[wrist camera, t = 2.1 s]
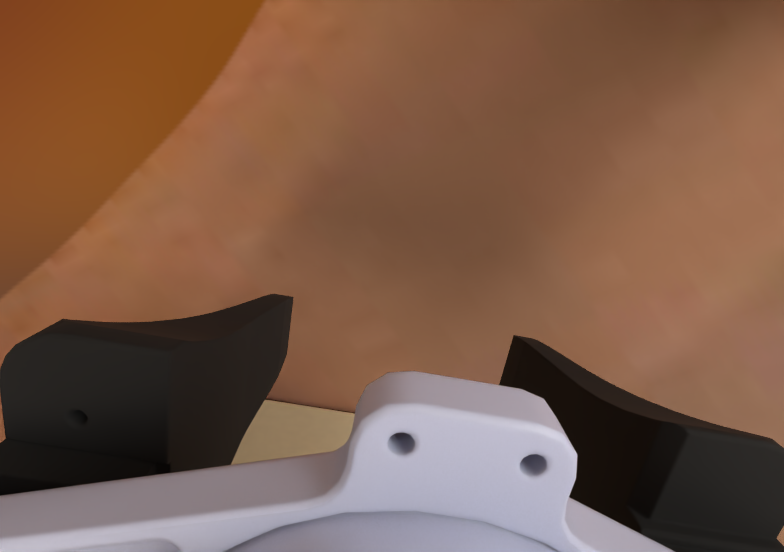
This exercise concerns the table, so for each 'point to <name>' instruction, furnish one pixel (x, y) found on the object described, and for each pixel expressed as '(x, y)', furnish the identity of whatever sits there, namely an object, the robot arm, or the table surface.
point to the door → (293, 432)
